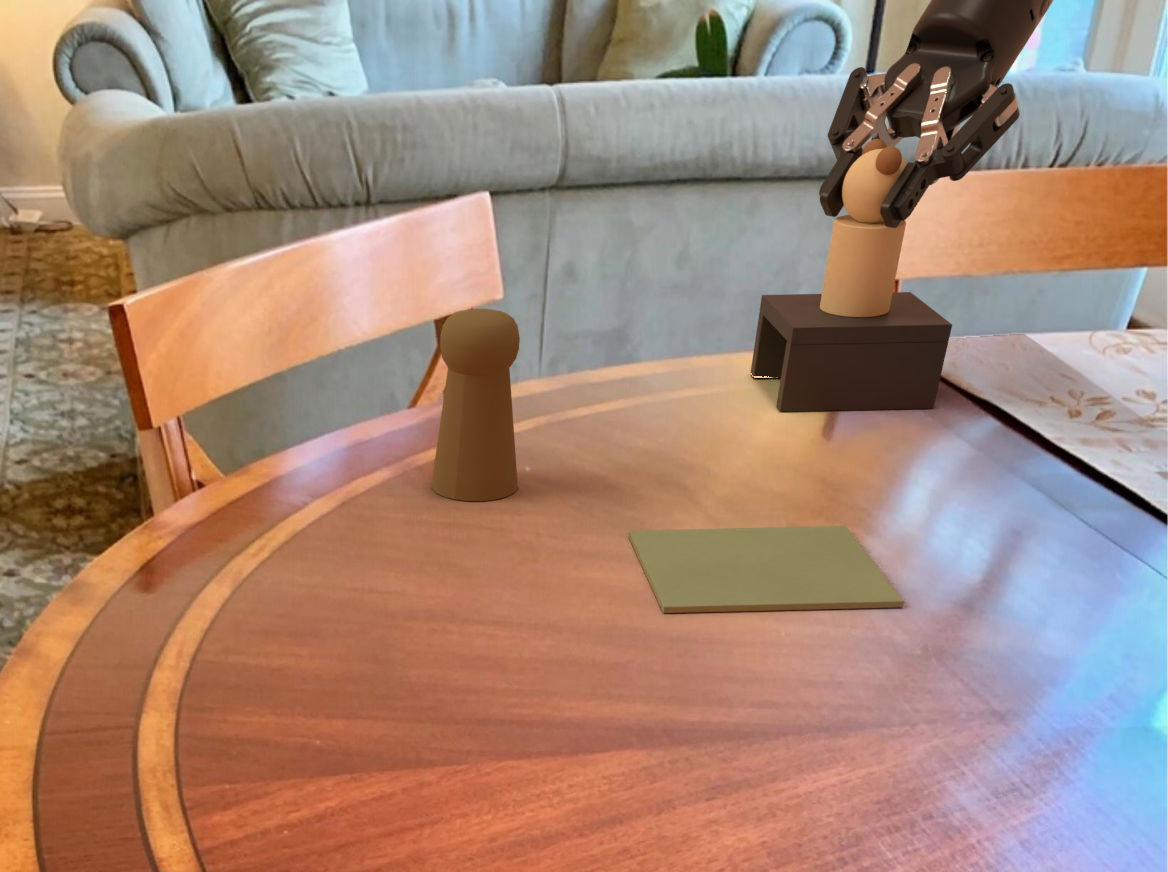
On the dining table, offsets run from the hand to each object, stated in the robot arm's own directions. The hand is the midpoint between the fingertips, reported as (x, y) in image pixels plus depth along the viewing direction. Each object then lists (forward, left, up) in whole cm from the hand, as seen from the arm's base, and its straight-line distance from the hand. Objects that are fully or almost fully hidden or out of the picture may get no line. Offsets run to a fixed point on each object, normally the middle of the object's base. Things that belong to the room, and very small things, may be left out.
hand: (857, 213), depth 108 cm
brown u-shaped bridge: (-1, -1, -13) cm, 13 cm away
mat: (+14, +35, -13) cm, 40 cm away
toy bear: (-1, -1, -7) cm, 7 cm away
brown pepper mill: (+30, +19, -13) cm, 37 cm away
